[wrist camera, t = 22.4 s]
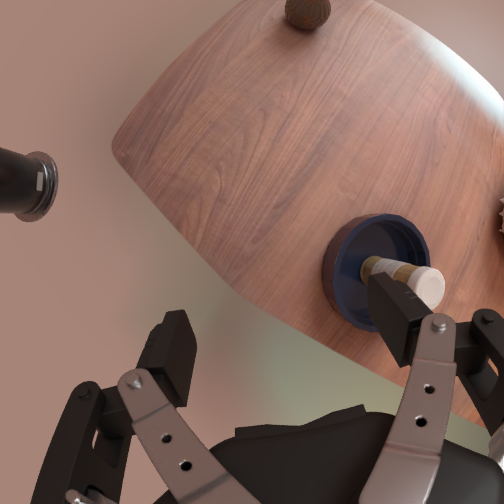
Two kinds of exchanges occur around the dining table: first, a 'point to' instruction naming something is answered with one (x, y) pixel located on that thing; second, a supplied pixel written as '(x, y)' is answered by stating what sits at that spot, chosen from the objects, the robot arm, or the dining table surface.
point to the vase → (307, 13)
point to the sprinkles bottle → (408, 277)
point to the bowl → (502, 215)
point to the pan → (357, 251)
